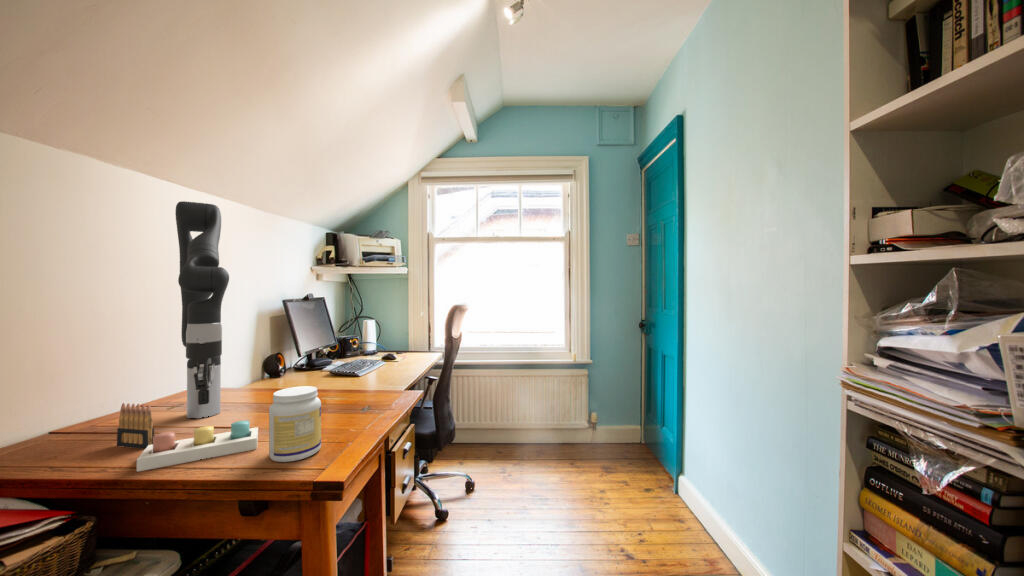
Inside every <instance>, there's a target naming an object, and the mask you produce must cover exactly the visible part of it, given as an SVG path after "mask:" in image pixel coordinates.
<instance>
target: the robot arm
mask: <svg viewBox="0 0 1024 576" xmlns="http://www.w3.org/2000/svg"><path fill="white" fill-rule="evenodd" d="M175 222H176V224H175V225H176V232H177V240H178V248H179V249H178V250H179V275H178V278H177V279H178V280H177V282H178V285H179V287H180V292H181V293H180V295H181V297H180V298H181V343H182V345H183V347H185V358H186V359H187V361H186V419H190V418H196V419H203V418H202V417H204V418H208V416H209V417H213V416H216V415H219V414H221V403H222V402H221V398H222V397H221V394H222V393H221V391H222V389H221V382H222V381H221V380H222V379H221V376H222V375H221V372H222V371H221V369H222V368H221V366H222V363H221V360H222V359H221V357H222V354H223V348H222V347H223V342H222V341H223V327H222V323H221V321H222V320H221V318H222V316H221V315H222V302H223V300H224V296H225V294H226V293H225V292H226V290H227V288H228V286H229V282H230V275H229V273H228V270H227V269H225V268H223V267H221V266H220V255H219V253H220V252H219V244H220V238H221V230H222V214H221V210H220V208H219V207H218V206H217V205H215V204H213V203H212V204H211V203H207V202H206V203H205V202H195V201H186V200H185V201H183V200H181V201H179V202H177V204H176V205H175ZM191 232H195V233H200V234H198V235H196V236H195V237H194V238H193V237H192V235H191Z"/></svg>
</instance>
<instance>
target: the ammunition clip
mask: <svg viewBox="0 0 1024 576" xmlns="http://www.w3.org/2000/svg"><path fill="white" fill-rule="evenodd" d="M119 410H120V411H119V419H118V427H117V431H116V433H117V434H116V447H119V446H124V447H123V448H130V447H131V448H132V449H134V448H135V449H141V448H143V450H145V449H146V448H147V446H148V445H152V444H153V436H155V428H154V427H153V417H152V415H153V414H152V407H151V406H150V404H147V406H146V405H145V404H142V405H140V403H137V405H135V403H132V405H130V403H129V402H128V403H127V404H125V402H122V404H121V407H120V409H119Z"/></svg>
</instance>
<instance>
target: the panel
mask: <svg viewBox="0 0 1024 576" xmlns="http://www.w3.org/2000/svg"><path fill="white" fill-rule="evenodd" d="M258 439H259V427H258V426H257V427H249V437H244V438H238V439H233V440H231V431H226V432H219V433H214V443H210V444H204V445H198V446H194V437H189V438H184V439H183V438H182V439H178V440H176V439H175V450H169V451H163V452H158V453H153V444H152V445H148V446H147V448H146V449H143V450H142V452H141V454H140V455H139V456H138V457H137V459H136V472H143V471H149V470H154V469H158V468H164V467H170V466H175V465H179V464H180V465H181V464H184V463H185V464H186V463H190V462H195V461H196V462H197V461H200V459H202V460H206V458H207V459H210V458H211V457H212V458H217V457H222V456H227V455H232V454H238V453H243V452H248V451H253V450H257V449H258V442H259V440H258Z"/></svg>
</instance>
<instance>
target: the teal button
mask: <svg viewBox="0 0 1024 576" xmlns="http://www.w3.org/2000/svg"><path fill="white" fill-rule="evenodd" d="M230 424H231V425H230V432H231V440H233V439H238V438H244V437H249V429H250V420H243V419H242V420H239V421H237V420H236V421H235V422H232V423H230Z"/></svg>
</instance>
